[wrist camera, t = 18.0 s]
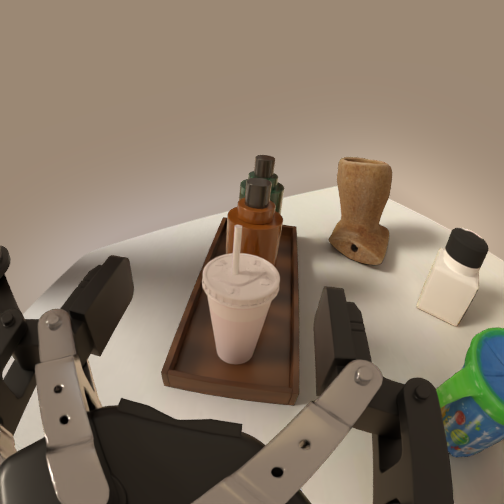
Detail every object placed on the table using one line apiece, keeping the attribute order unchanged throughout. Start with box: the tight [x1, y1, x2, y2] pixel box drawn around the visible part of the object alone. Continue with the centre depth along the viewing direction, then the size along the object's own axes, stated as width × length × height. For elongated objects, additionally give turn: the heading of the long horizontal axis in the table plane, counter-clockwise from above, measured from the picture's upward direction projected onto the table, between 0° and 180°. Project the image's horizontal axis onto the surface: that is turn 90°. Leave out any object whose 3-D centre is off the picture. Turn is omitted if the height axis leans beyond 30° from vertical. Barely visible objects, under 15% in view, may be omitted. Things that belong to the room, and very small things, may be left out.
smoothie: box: [202, 225, 280, 364], centre depth 27 cm, size 6×6×14 cm
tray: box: [161, 217, 299, 405], centre depth 39 cm, size 31×12×2 cm, turn 174°
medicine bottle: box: [417, 228, 488, 326], centre depth 36 cm, size 7×7×12 cm
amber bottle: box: [226, 178, 283, 268], centre depth 35 cm, size 6×6×14 cm
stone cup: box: [329, 157, 392, 265], centre depth 49 cm, size 15×12×15 cm
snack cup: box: [436, 328, 504, 457], centre depth 19 cm, size 16×10×10 cm
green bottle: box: [239, 155, 284, 215], centre depth 44 cm, size 6×6×14 cm
